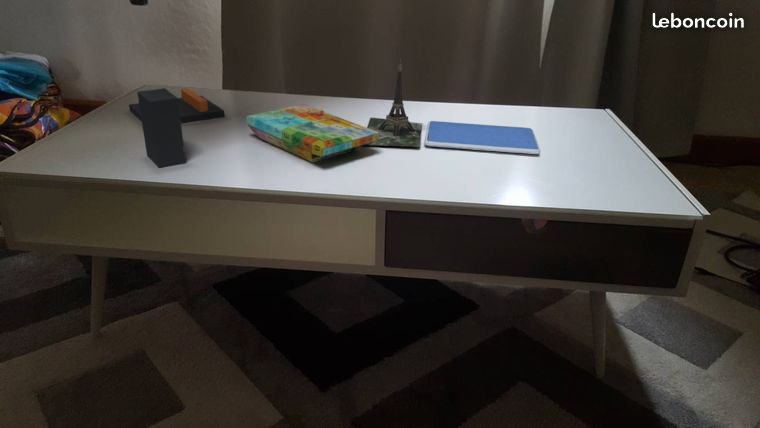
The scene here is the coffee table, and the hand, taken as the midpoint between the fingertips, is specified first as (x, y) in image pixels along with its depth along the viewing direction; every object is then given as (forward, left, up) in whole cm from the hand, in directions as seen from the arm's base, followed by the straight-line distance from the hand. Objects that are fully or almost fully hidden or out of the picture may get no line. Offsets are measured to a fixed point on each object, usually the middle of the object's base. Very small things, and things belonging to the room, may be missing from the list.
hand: (161, 1), depth 75 cm
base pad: (+8, +25, -23) cm, 35 cm away
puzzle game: (+21, -3, -23) cm, 31 cm away
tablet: (+48, -15, -23) cm, 55 cm away
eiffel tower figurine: (+37, -5, -23) cm, 44 cm away
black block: (-1, +3, -23) cm, 23 cm away
